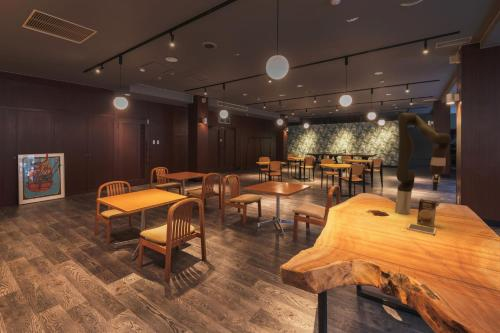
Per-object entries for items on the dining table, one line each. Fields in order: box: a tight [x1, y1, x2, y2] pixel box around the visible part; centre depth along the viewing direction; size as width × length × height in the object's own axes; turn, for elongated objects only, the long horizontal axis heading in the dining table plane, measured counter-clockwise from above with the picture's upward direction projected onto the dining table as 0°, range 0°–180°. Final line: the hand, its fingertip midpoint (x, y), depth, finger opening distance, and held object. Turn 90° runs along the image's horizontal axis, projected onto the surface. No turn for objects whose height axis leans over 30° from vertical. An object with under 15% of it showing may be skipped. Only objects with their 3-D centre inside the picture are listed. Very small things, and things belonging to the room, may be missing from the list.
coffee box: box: [416, 198, 437, 228], centre depth 162 cm, size 9×6×16 cm
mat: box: [406, 222, 437, 236], centre depth 154 cm, size 14×12×1 cm
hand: (435, 189), depth 159 cm, fingers open, 8 cm apart
